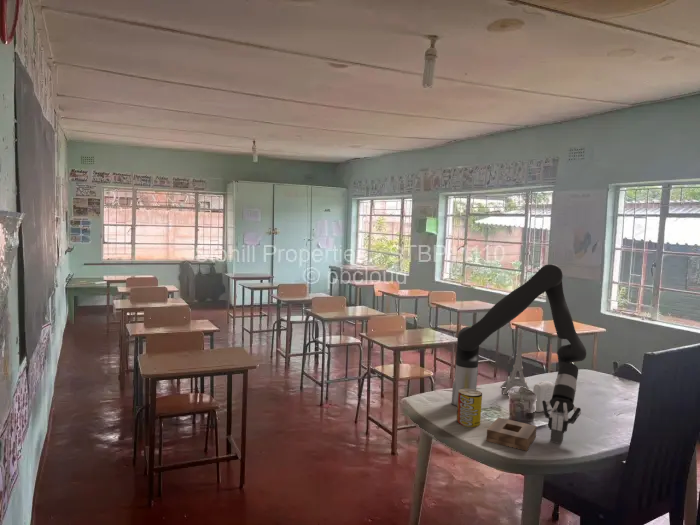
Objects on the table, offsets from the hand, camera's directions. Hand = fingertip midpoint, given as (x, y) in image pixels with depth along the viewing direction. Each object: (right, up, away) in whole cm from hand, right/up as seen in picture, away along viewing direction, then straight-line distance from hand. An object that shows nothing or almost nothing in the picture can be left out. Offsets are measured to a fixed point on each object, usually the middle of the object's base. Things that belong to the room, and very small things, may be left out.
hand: (556, 430), depth 188 cm
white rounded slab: (+8, -3, +35) cm, 36 cm away
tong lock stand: (-16, -4, +1) cm, 16 cm away
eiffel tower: (+4, -1, +58) cm, 58 cm away
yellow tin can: (-28, -2, +16) cm, 32 cm away
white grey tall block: (+1, -4, +2) cm, 5 cm away
